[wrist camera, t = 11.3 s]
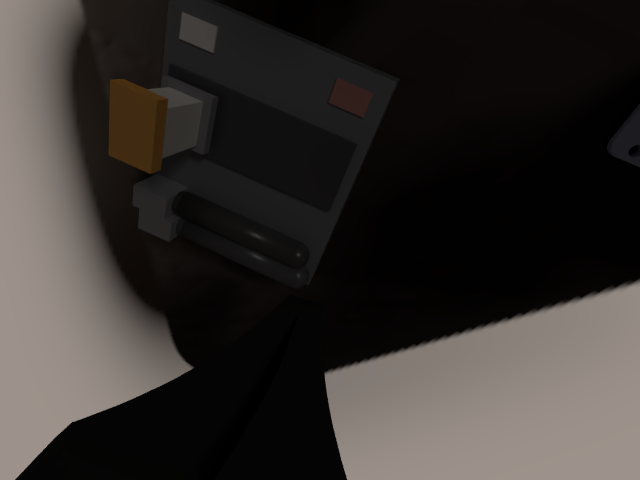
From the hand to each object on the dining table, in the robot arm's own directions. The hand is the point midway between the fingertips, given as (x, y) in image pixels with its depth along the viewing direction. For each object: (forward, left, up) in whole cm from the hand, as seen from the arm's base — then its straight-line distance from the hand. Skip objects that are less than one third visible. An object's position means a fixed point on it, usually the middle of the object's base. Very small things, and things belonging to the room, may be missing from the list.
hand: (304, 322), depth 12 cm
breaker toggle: (+8, -3, -6) cm, 11 cm away
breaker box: (+6, -2, -9) cm, 11 cm away
